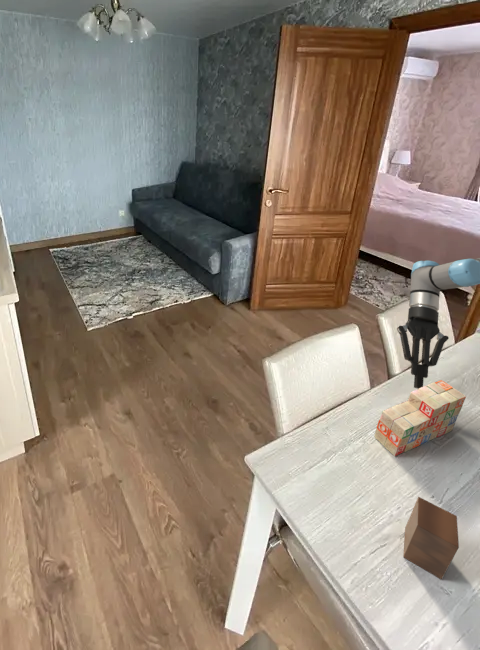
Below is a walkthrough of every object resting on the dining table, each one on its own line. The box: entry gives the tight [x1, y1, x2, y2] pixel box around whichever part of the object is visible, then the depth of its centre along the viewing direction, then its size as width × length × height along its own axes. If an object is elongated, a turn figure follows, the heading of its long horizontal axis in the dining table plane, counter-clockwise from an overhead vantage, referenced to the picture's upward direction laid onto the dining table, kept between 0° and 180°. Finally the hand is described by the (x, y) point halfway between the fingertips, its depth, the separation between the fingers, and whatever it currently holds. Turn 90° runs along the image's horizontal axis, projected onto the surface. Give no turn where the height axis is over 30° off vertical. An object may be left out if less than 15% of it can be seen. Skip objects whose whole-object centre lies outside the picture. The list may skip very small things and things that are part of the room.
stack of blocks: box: [373, 379, 467, 457], centre depth 89 cm, size 21×6×12 cm, turn 111°
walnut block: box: [402, 496, 460, 580], centre depth 65 cm, size 6×6×10 cm
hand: (418, 387), depth 99 cm, fingers closed
